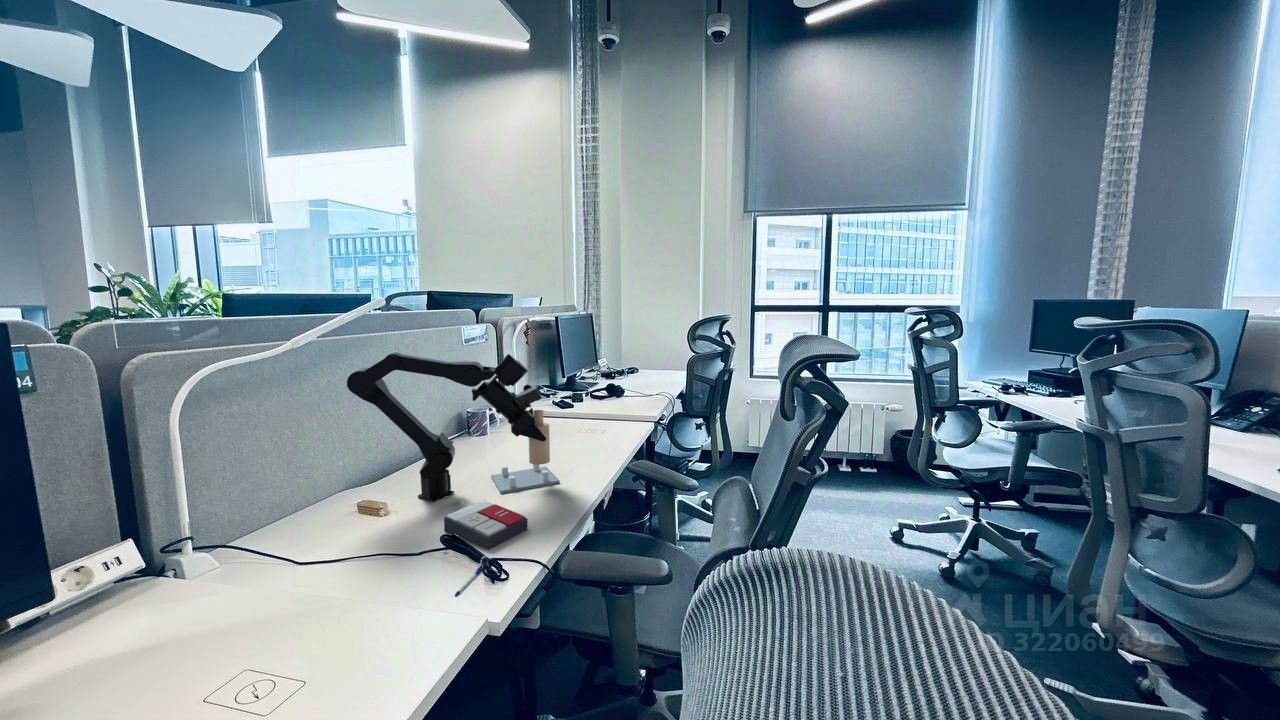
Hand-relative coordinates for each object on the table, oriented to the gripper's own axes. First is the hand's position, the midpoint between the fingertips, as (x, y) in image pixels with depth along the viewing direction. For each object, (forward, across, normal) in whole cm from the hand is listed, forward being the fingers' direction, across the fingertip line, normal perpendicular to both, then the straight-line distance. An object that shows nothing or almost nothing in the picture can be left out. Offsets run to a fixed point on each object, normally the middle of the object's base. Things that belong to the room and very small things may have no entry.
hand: (544, 437), depth 134 cm
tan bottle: (+4, 0, +6) cm, 7 cm away
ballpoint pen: (-2, -43, +22) cm, 48 cm away
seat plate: (+6, +5, +13) cm, 15 cm away
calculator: (0, -24, +20) cm, 31 cm away
